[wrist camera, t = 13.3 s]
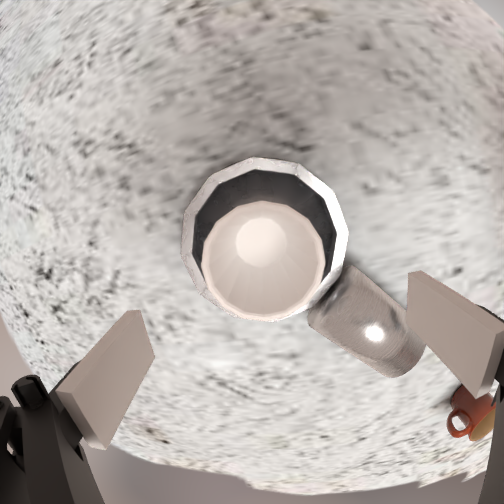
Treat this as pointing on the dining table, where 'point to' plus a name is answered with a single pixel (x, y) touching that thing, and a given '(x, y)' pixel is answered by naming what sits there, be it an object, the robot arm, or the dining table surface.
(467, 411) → the mug
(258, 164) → the grey saucepan
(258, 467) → the dining table surface
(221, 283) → the cup
